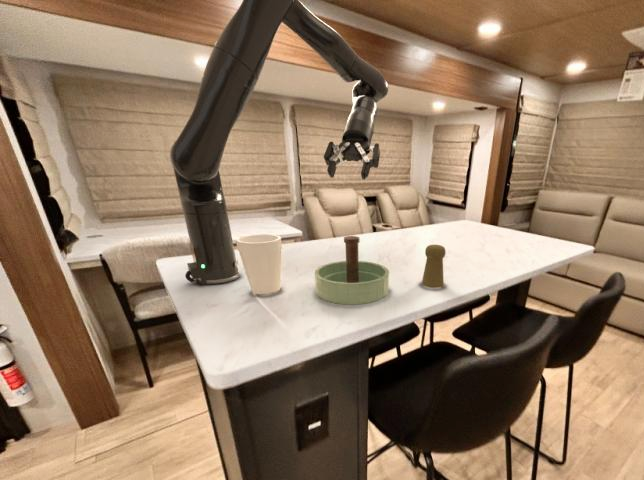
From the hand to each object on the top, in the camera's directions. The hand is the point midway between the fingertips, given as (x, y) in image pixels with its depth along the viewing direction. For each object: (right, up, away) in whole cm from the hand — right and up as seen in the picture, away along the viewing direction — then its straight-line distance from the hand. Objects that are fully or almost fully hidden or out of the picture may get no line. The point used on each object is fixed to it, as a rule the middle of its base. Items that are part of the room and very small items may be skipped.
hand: (346, 176), depth 79 cm
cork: (+22, -28, +5) cm, 36 cm away
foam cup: (-19, -30, -4) cm, 35 cm away
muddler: (+2, -29, -2) cm, 29 cm away
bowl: (+2, -30, -2) cm, 30 cm away
